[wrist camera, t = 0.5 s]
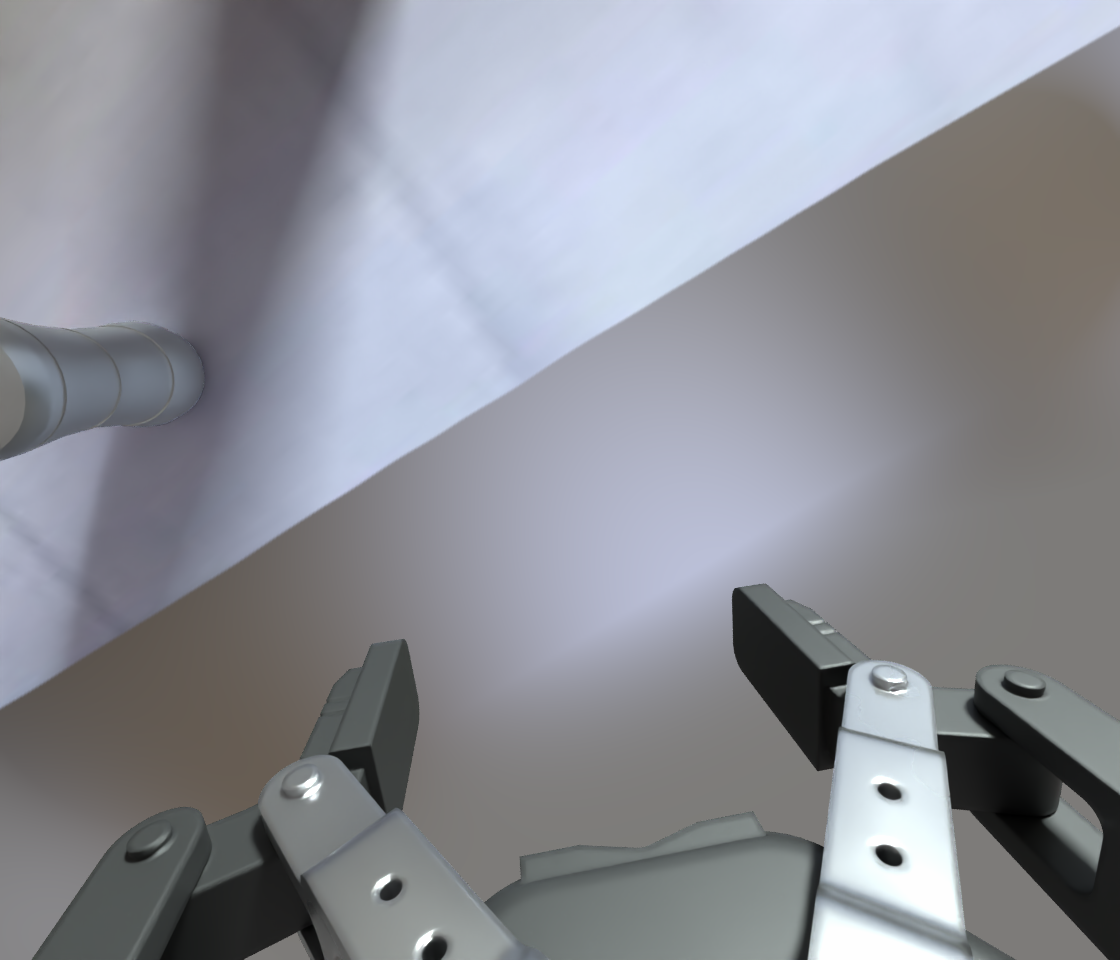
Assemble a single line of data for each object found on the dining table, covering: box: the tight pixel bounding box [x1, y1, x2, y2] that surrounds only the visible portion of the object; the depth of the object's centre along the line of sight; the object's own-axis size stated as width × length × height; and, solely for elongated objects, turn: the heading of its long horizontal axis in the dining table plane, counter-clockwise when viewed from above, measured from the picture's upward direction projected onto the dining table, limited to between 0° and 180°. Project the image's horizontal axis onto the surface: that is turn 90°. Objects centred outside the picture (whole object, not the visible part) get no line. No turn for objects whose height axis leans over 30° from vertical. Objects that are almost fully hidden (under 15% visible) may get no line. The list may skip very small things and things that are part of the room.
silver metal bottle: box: [0, 318, 205, 461], centre depth 27 cm, size 6×7×20 cm
